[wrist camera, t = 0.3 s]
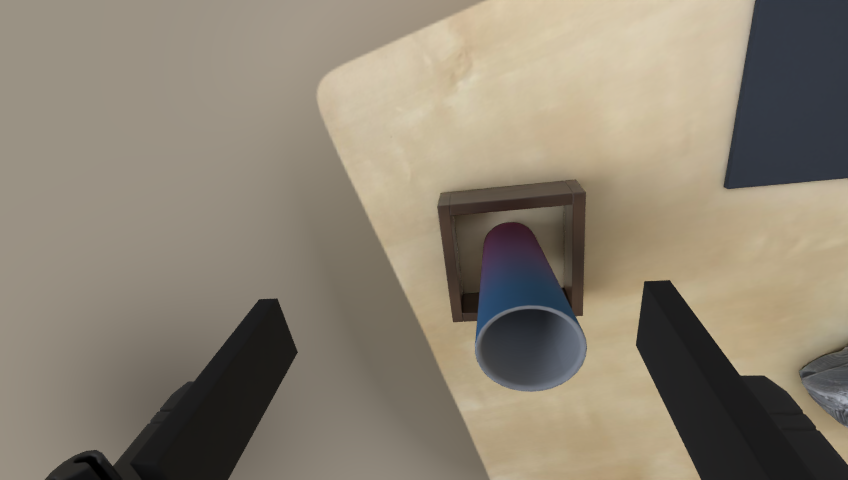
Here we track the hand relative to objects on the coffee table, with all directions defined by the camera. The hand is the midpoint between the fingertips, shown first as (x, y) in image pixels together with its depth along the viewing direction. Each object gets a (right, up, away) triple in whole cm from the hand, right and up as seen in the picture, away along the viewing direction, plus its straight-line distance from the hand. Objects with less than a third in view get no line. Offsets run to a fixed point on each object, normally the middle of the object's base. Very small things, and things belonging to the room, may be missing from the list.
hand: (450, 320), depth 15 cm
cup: (+7, +2, +24) cm, 25 cm away
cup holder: (+7, +2, +24) cm, 25 cm away
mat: (+29, +15, +15) cm, 36 cm away
